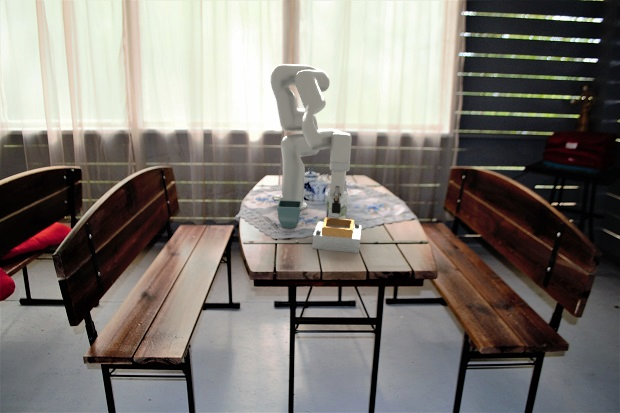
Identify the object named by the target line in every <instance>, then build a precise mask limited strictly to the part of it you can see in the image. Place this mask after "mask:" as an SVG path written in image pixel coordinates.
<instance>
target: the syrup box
mask: <svg viewBox="0 0 620 413" xmlns="http://www.w3.org/2000/svg"><path fill="white" fill-rule="evenodd" d="M333 195H334V194H333ZM338 195H340V194H338ZM347 201H348V202H349V192H348V191H347V192H346V191H344V193H343V196H342V197H341V199H340V203H341V208H340V214H337V213H332V202H333V196H330V191H328V192H327V202H326V216H325V217H329V218H340V219H347V213H348V212H347V211H348V210H347V209H348V204H347Z"/></svg>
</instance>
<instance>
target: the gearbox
mask: <svg viewBox="0 0 620 413" xmlns="http://www.w3.org/2000/svg"><path fill="white" fill-rule="evenodd" d="M361 235H362V224H359V223H355V219H350V218H349V219H348V218H346V219H340V218H329V217H326V216H325V218H324V220H323V221H320V220H319V221H317V223H316V226H315V228H314V231H313V234H312V247H311V248H312V249H315V250H324V251H336V252H343V253H344V252H346V253H352V254H353V253H355V254H359V253H360V247H361V246H360V245H361V237H362V236H361Z"/></svg>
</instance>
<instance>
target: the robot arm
mask: <svg viewBox="0 0 620 413" xmlns="http://www.w3.org/2000/svg"><path fill="white" fill-rule="evenodd" d="M330 82H331V81H330V77H329V75H328V74H327V73H326V71H324V70H323V69H320V68H317V67H314V66H311V65H307V64H294V63H293V64H292V63H291V64H290V63H283V64H278V65H276V66H275V67H273V69H272V71H271V74H270V84H271V89H272V93H273V95H274V97H275V100H276V101H275V102H276V105H277V110H278V117H279V123H280V126H281V129H282V130H283V131H284V132H289V133H290V132H302V133H295V134H287V135H285V136H284V137H283V138H282V139H281V141H280V151H281V156H282V182H281V186H282V188H281V195H272V198H271V199H272V201H274V202H279V200H285V201H301V210H300V211H302V210H304V209H306V208H307V207H308V204H307V203H306V202H305V200H304V198H305V173H306V172H305V171H306V170H305V167H306V166H305V164H304V162H303V160H302V158H303V157H309V156H315V155H318V153H319V152H320V150H330V152H329V153H330V154H329V158H330V159H329V170H330V171H331V176H330V186H329V187H330V190H329V192H330V196H333V202H332V213H337V214H340V208H341V203H340V199H341V197H342V196H343V193H344V188H345V181H346V178H347V172H349V171H350V170H351V169H350V168H351V167H350V166H351V155H352V152H351V151H352V143H353V142H352V139H353V137H352V134H351V133H349V132H346V131H345V132H344V131H341V130H339V129H336V128H323V129H319V126H318V122H317V117H316V114H318V113H320V112H321V111H322V110H323V109H324V108H325V107H326V99H325V97H324V94H323V92H326V91H327V90H328V89H329V87H330ZM291 86H292V87H295V88H296V90H297V92H298V95H299V98H300V101H301V103H302V105H303V108H299V106H298V101H297V96H296V94H295V93H294V92H293V90H292V89H291V88H290V87H291ZM346 182H347V181H346ZM333 194H334V195H333ZM338 194H340V195H338Z"/></svg>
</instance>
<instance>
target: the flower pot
mask: <svg viewBox="0 0 620 413" xmlns="http://www.w3.org/2000/svg"><path fill="white" fill-rule="evenodd" d="M276 210H277V219H278V222H279V224H280V226H281V227H282V228H292V229H294V228H296V227H297V226H298V223H299V221H300V220H299V219H300V215H301V211H302V210H301V201H285V200H279V201H278V203H277V206H276Z"/></svg>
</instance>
